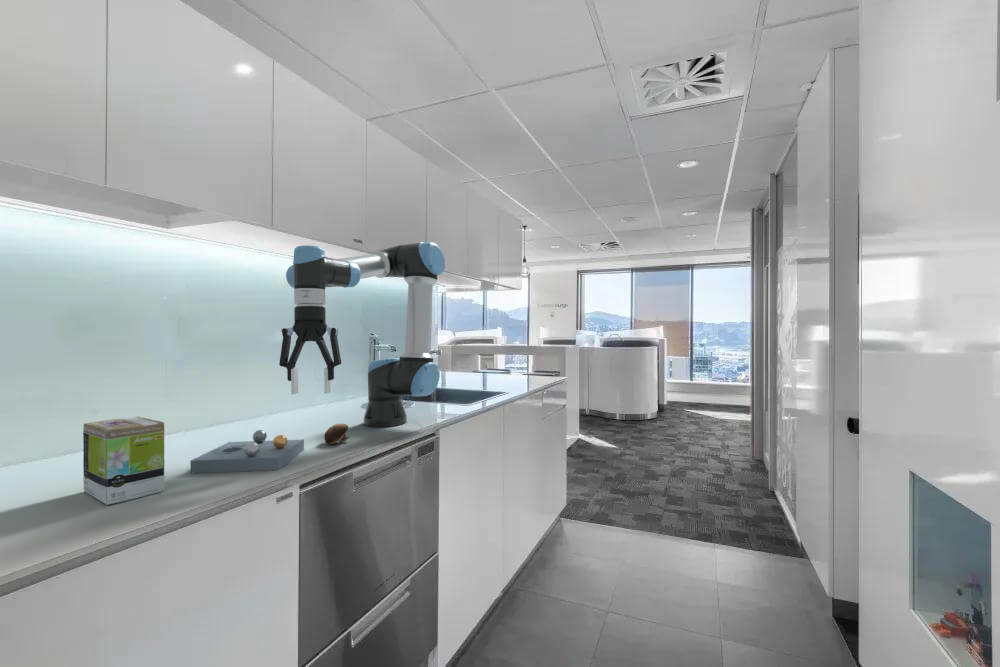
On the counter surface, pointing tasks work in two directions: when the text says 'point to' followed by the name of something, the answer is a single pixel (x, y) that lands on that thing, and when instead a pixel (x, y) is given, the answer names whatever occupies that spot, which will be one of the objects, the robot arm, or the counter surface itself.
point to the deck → (246, 457)
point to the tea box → (123, 459)
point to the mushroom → (336, 434)
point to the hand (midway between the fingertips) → (311, 393)
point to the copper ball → (280, 441)
